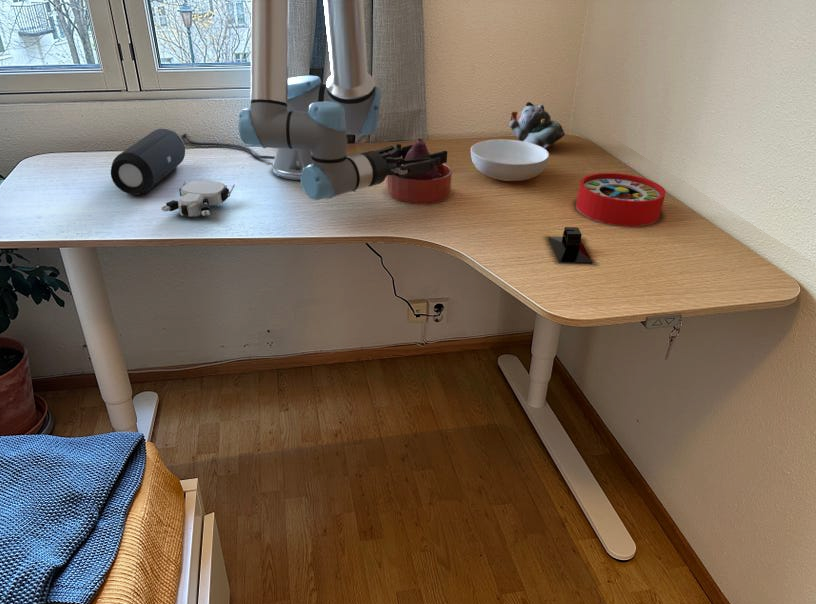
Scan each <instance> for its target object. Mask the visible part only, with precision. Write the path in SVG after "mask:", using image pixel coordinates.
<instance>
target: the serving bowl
mask: <svg viewBox="0 0 816 604" xmlns="http://www.w3.org/2000/svg"><path fill="white" fill-rule="evenodd" d="M470 156H471V162H472V164H473V165H474V167H475V169H476V170H477V171H478V172H480V173H481V174H482V175H484V176H486V177H489V178H491V179H493V180H494V179H495V180H498V181H503V182H519V181H520V182H521V181H522V182H523V181H526V180H531V179H533V178H535V177H537V176H538V175H539V174H541V173H542V172H543V171H544V170H545V168H546V167H547V164H548V161H549V159H550V152H549V151H548V150H547V148H546V149H544V148H542V147H540V146H538V145H535V144H532V143H528V142H523V141H520V140H516V139H503V138H501V139H500V138H499V139H487V140H481V141H478V142H476V143H474V144H473V145H472V146H471V147H470Z"/></svg>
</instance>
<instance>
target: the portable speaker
mask: <svg viewBox="0 0 816 604" xmlns="http://www.w3.org/2000/svg"><path fill="white" fill-rule="evenodd" d="M185 156H186V145H185V142H184V139H183V137H182V136H180V135H179V133H177V132H175V131H174V130H173V129H168V128H157V129H154V130H153V131H152V132H150V133H148V134H147V135H146V136H144V137H143V138H141V139H139V140H138V141H137V142H135V143H134V144H132V145H131V146H129V147H128V148H126V149H125V150H124V151H122V152H120V154H117V155H116V157H115V158H114V159H113V161H112V162H111V167H110V177H111V180H112V182H113V184H114V185H115V186H116V188H118V189H119V190H120V191H122V192H124V193H126V194H128V195H143V194H146V193H147V192H149V191H150V190H151V189H152V188H153V187H154V186H155V185H157V184H158V183H159V182H160V181H162V179H164V178H165V177H167V175H169V174H170V173H171V172H172V171H173V170H175V169H176V167H178V166H179V165H180V164H182V163H183V160H184V159H185Z"/></svg>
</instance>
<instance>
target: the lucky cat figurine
mask: <svg viewBox="0 0 816 604" xmlns="http://www.w3.org/2000/svg"><path fill="white" fill-rule="evenodd" d="M510 114H511V116H510V122H509V128H510V129H511V132H512V133H513V134H514V135H515V137H516V138H517V139H518V141H523V142H528V143H532V144H535V145H538V146H540V147H542V148H544V149H546V150H547V149H548V148H549V147H550V146H552V144H554V143H556V142H557V141H559V140H561V139H562V138H564V136H565V135H566V133H565V131H564V129H563V126H562V125H561V123H559V122H558V121H555V120H551V119H552V117H551V115H550V114H549V112H548V111H547V110H546V109H545V106H544V104H541V103H539V105H537V106H535V105H534V104H533V103H532V102H530V101H528V102H526V104H525V106H523V107H522V108H521V109H520V110H519V111H511V112H510Z"/></svg>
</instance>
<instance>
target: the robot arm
mask: <svg viewBox="0 0 816 604" xmlns="http://www.w3.org/2000/svg"><path fill="white" fill-rule="evenodd" d="M250 1H251V2H250V3H251V4H250V11H251V12H250V107H248V108H243V109H241V111H240V112H239V116H238V118H239V119H238V124H237V126H238V134H239V138H240V140H241V142H242V143H243V144H244V145H241V144H235V143H234V144H233V143H225V142H209V141H208V142H203V141H194V140H191V139H190V137H189V135H188V133H187V132H185V134H184V133H183V134H182V139H186V141H187V142H188V143H189V144H191V145H195V146H196V145H197V146H215V147H217V146H219V147H220V146H221V147H229V148H236V149H237V148H238V149H241V150H246V151H247V152H249V153H250V154H251V155H252V156H253V157H255V158H257V159H264V160H266V159H267V160H273V162H272V171H273V172H272V173H274V175H276V176H277V177H279V178H282V179H285V180H292V181H300V185H301V187H302V190H303V192H304V193H305V195H306V196H307V197H308V198H309V199H312V201H320V200H325V199H326V200H327V199H333V198H334V197H338V196H340V195H344V194H347V193H351V192H353V193H357V191H358V190H362V189H366V188H369V187H375V186H377V185H380V184H382V183H383V182H384V181H385V179H386V176H390V175H393V174H400V177H401V178H405V177H407V176H410V175H415V174H421V173H426V172H431V171H434V166H435V165H439V164H446V163H447V162H448V150H442V151H438V152H434V153H430V155H426V157H424V158H412V159H404V158H405V156H406V154H407V153H408V151H409V150H410V149H411V148H412V147H413V145H414V144H410V145H406V146H402V144H401V143H397V144H396V147H395V146H394V145H389V146H386V147H383V148H380V149H377V150H369V151H364V152H361V153H356V154H351V155H348V156H347V135H353V136H358V137H361V136H372V135H373V134H375V133H376V131H377V126H378V120H379V114H380V113H379V112H380V105H381V96H382V89H381V87H380V86H378V85H375V80H374V78H373V76H372V75H371V74H370V73H368V62H367V61H368V60H367V44H366V43H367V41H366V27H365V12H364V11H365V9H364V0H323V7H324V8H323V9H324V16H325V17H324V18H325V27H326V36H327V46H328V52H329V54H328V55H329V62H330V72H331V75H330V76H329V77H328V78H327V80H326V83H322V79H321V77H320V76H318V75H298V76H293V77H289V41H290V40H289V39H290V37H289V34H290V0H250ZM250 147H254V148H255V147H257V148H262V149H267V148H268V149H269V148H271V149H275V154H274V155H263V154H262V155H261V154H257V153H256V152H255V151H254V150H253V149H252V148H250ZM398 161H400V164H399V162H398Z"/></svg>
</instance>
